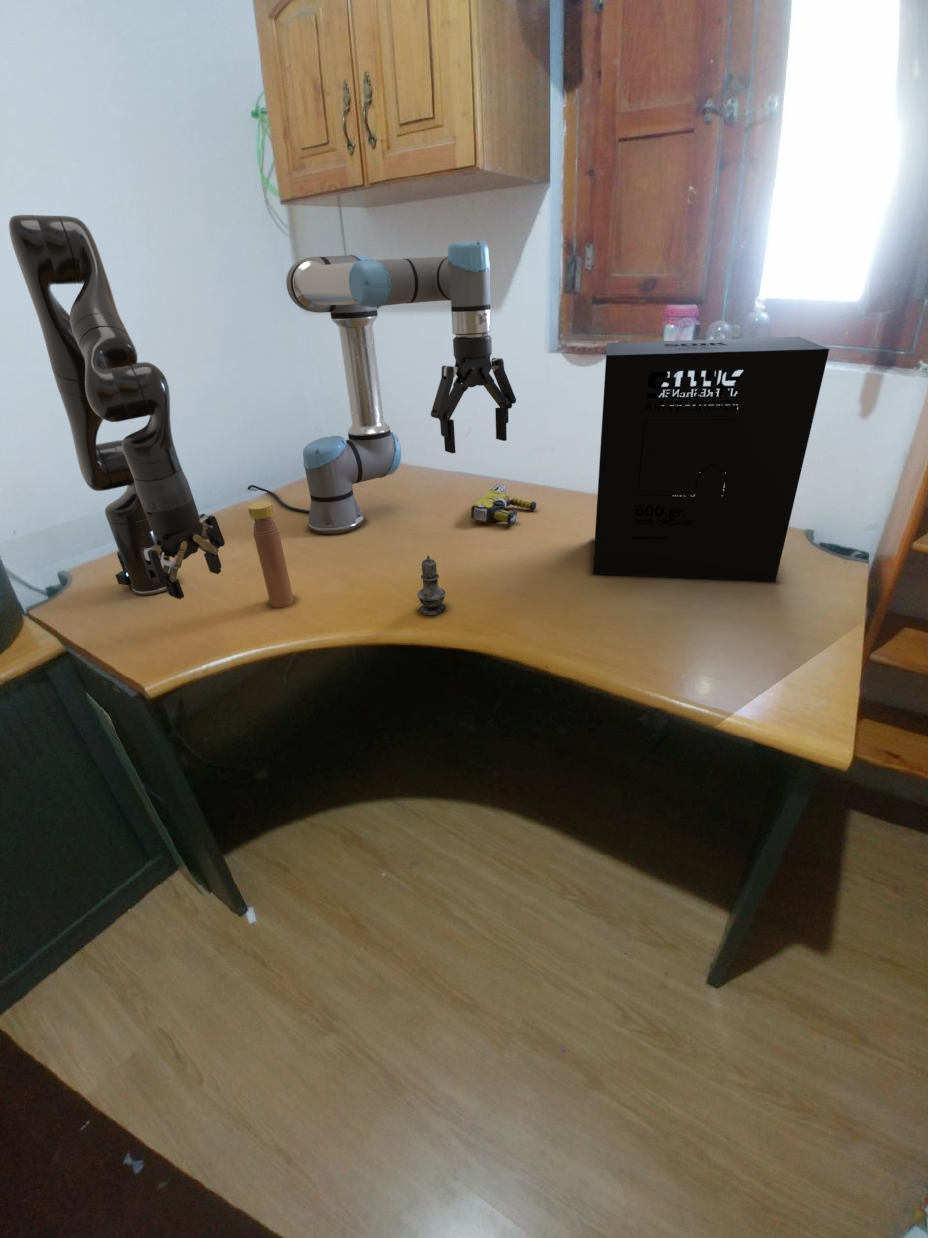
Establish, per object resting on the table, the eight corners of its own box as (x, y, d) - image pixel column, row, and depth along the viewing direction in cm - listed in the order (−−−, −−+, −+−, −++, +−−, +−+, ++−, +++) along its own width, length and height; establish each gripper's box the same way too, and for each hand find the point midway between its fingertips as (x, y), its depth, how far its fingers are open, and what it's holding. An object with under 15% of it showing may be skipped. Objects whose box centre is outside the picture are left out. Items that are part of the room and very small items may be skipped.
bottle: (284, 594, 134) (263, 501, 123) (298, 600, 131) (278, 505, 120) (265, 603, 130) (242, 508, 120) (279, 609, 128) (257, 513, 117)
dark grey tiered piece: (443, 616, 121) (439, 562, 115) (415, 615, 122) (409, 561, 116) (449, 602, 126) (446, 549, 120) (422, 601, 127) (417, 548, 121)
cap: (264, 509, 123) (262, 499, 122) (278, 513, 121) (276, 503, 120) (245, 516, 120) (243, 506, 119) (259, 520, 118) (257, 510, 117)
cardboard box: (755, 543, 144) (798, 336, 121) (775, 581, 127) (829, 348, 104) (594, 538, 151) (606, 342, 129) (592, 573, 134) (606, 355, 112)
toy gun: (544, 489, 177) (495, 482, 181) (524, 514, 157) (469, 505, 161) (542, 504, 180) (494, 497, 183) (522, 531, 159) (468, 521, 163)
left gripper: (184, 478, 102) (212, 560, 111) (112, 513, 91) (149, 601, 101) (217, 485, 99) (242, 569, 108) (146, 522, 89) (181, 611, 98)
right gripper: (429, 342, 108) (437, 460, 118) (533, 329, 120) (532, 437, 131) (407, 340, 113) (417, 454, 124) (508, 328, 125) (510, 432, 136)
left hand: (197, 584), depth 105 cm, fingers open, 8 cm apart
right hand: (476, 445), depth 127 cm, fingers open, 13 cm apart
